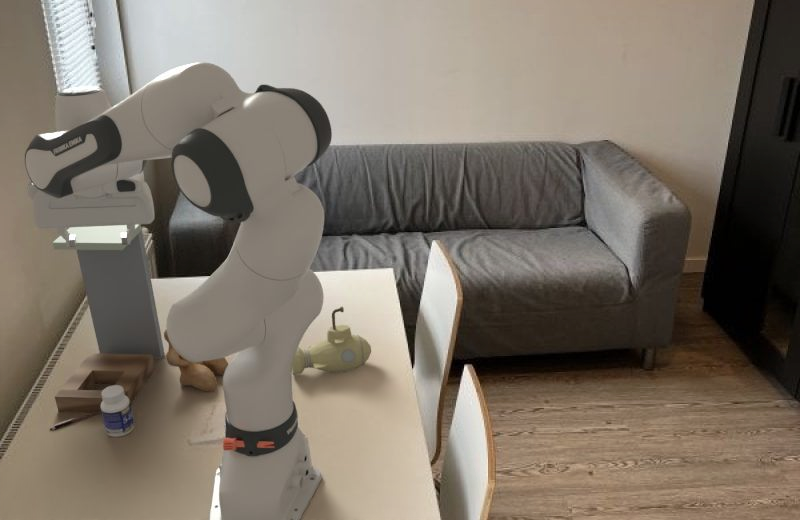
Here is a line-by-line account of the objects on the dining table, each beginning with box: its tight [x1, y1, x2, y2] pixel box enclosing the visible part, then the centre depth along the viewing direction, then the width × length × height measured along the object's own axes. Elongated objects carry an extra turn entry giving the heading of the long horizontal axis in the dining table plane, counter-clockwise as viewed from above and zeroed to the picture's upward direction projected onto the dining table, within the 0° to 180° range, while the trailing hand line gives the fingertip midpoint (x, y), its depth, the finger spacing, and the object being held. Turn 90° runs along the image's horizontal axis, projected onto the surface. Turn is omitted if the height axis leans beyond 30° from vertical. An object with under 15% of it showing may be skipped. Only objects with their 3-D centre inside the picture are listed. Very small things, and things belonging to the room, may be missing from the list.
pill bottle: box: [100, 385, 135, 438], centre depth 148 cm, size 5×5×9 cm
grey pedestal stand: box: [52, 224, 165, 359], centre depth 163 cm, size 10×14×32 cm
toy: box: [292, 306, 372, 376], centre depth 163 cm, size 9×17×15 cm, turn 105°
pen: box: [49, 411, 102, 431], centre depth 153 cm, size 11×1×1 cm, turn 125°
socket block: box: [54, 352, 155, 413], centre depth 161 cm, size 16×14×4 cm
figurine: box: [163, 328, 229, 392], centre depth 162 cm, size 11×9×15 cm
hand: (99, 244), depth 142 cm, fingers open, 8 cm apart
